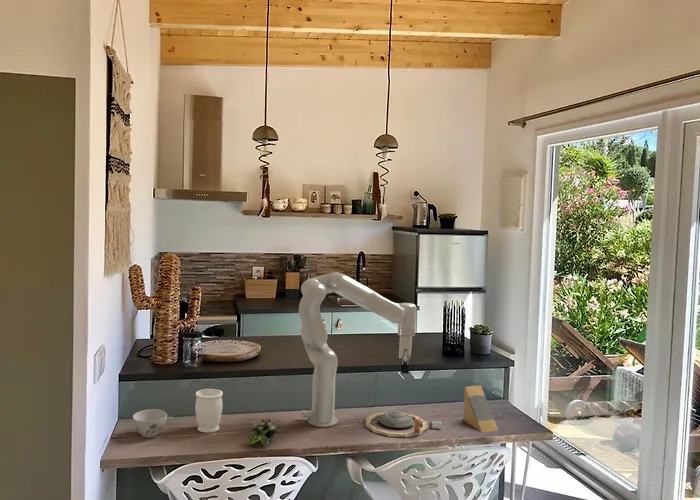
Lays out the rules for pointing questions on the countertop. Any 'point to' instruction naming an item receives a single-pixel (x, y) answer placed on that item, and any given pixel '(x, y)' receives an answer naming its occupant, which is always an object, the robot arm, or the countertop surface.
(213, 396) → the jar
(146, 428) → the teacup
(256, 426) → the green leafy cluster
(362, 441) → the countertop surface
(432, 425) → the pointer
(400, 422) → the flying saucer
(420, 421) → the turntable ring
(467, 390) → the sandwich container
